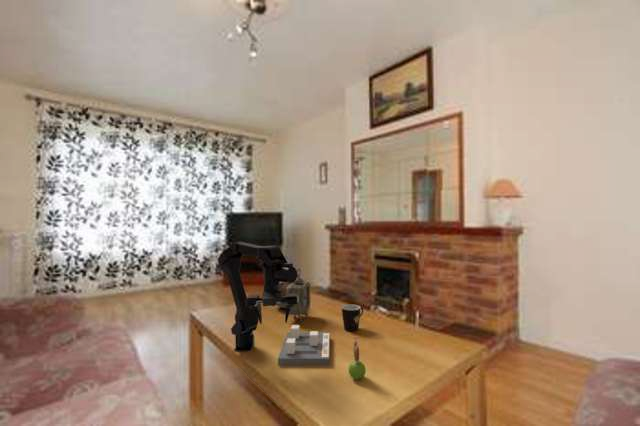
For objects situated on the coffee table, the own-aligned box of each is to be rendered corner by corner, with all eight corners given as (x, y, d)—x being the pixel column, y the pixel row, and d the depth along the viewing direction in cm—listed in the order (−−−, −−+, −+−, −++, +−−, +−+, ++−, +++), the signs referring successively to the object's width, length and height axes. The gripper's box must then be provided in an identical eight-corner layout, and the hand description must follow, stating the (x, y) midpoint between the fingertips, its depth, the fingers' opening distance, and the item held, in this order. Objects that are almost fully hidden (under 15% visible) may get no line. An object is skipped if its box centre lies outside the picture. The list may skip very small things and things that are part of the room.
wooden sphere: (289, 302, 193) (289, 276, 193) (304, 307, 182) (304, 280, 182) (267, 307, 184) (266, 280, 184) (282, 313, 172) (281, 285, 172)
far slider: (291, 338, 131) (291, 328, 131) (292, 334, 135) (292, 325, 135) (298, 338, 131) (298, 328, 131) (299, 334, 135) (299, 325, 135)
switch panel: (278, 365, 114) (277, 357, 114) (287, 338, 138) (287, 332, 138) (329, 365, 114) (329, 358, 114) (329, 338, 138) (329, 332, 138)
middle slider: (309, 345, 124) (309, 335, 124) (310, 341, 128) (310, 331, 128) (317, 345, 124) (317, 335, 124) (318, 341, 128) (318, 331, 128)
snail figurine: (363, 372, 109) (363, 336, 109) (367, 382, 102) (366, 344, 102) (347, 372, 109) (346, 336, 108) (349, 383, 102) (349, 345, 102)
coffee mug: (345, 333, 143) (345, 311, 143) (339, 327, 151) (338, 305, 151) (370, 330, 146) (369, 308, 146) (362, 324, 154) (362, 303, 154)
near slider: (286, 353, 117) (286, 342, 117) (287, 349, 121) (287, 338, 121) (294, 353, 117) (294, 342, 117) (295, 349, 121) (295, 338, 121)
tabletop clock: (303, 324, 155) (302, 271, 155) (285, 323, 157) (284, 271, 157) (310, 314, 170) (309, 266, 169) (293, 313, 171) (292, 266, 171)
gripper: (240, 286, 112) (242, 332, 112) (295, 284, 111) (297, 330, 111) (248, 279, 123) (250, 321, 123) (298, 278, 123) (299, 319, 122)
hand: (273, 323), depth 120 cm, fingers open, 9 cm apart
